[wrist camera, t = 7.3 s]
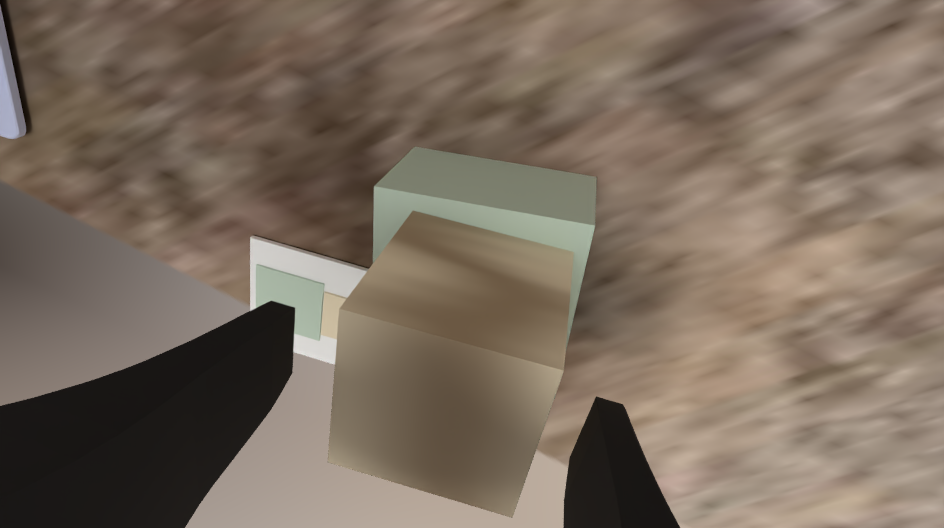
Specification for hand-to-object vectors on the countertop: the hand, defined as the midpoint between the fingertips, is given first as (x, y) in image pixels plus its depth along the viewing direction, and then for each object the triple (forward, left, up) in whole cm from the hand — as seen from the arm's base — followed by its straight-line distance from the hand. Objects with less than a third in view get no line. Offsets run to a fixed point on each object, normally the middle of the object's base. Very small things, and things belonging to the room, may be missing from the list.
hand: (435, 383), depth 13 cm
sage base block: (0, 0, -8) cm, 8 cm away
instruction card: (-6, -5, -8) cm, 11 cm away
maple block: (0, 0, -4) cm, 4 cm away
